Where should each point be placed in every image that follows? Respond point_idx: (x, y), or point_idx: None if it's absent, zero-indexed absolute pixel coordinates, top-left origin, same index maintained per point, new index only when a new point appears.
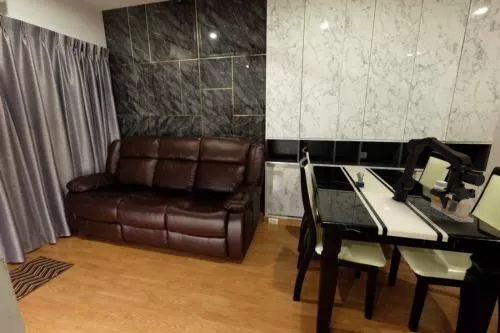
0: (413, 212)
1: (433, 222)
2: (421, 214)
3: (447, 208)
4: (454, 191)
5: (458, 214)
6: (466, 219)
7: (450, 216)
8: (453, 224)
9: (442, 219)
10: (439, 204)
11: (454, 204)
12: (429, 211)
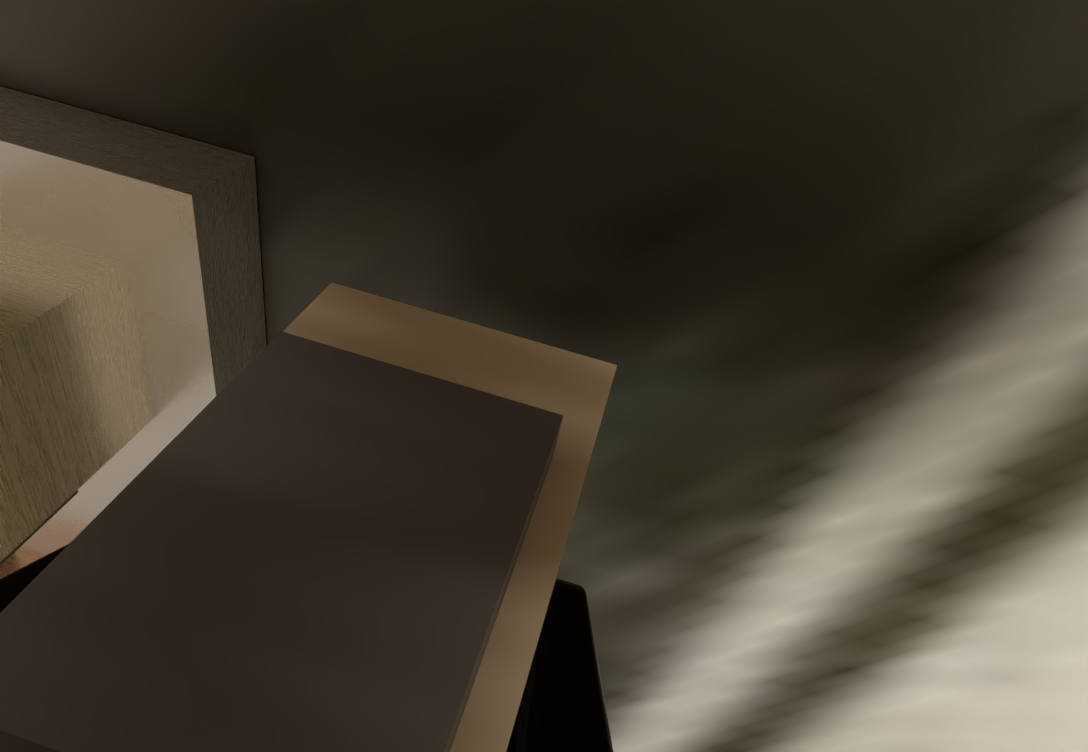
0: (860, 701)
1: (998, 299)
2: (786, 615)
3: (556, 564)
4: None
5: (102, 337)
6: (26, 137)
7: None
8: (515, 75)
9: None
10: None
11: (195, 684)
12: None
